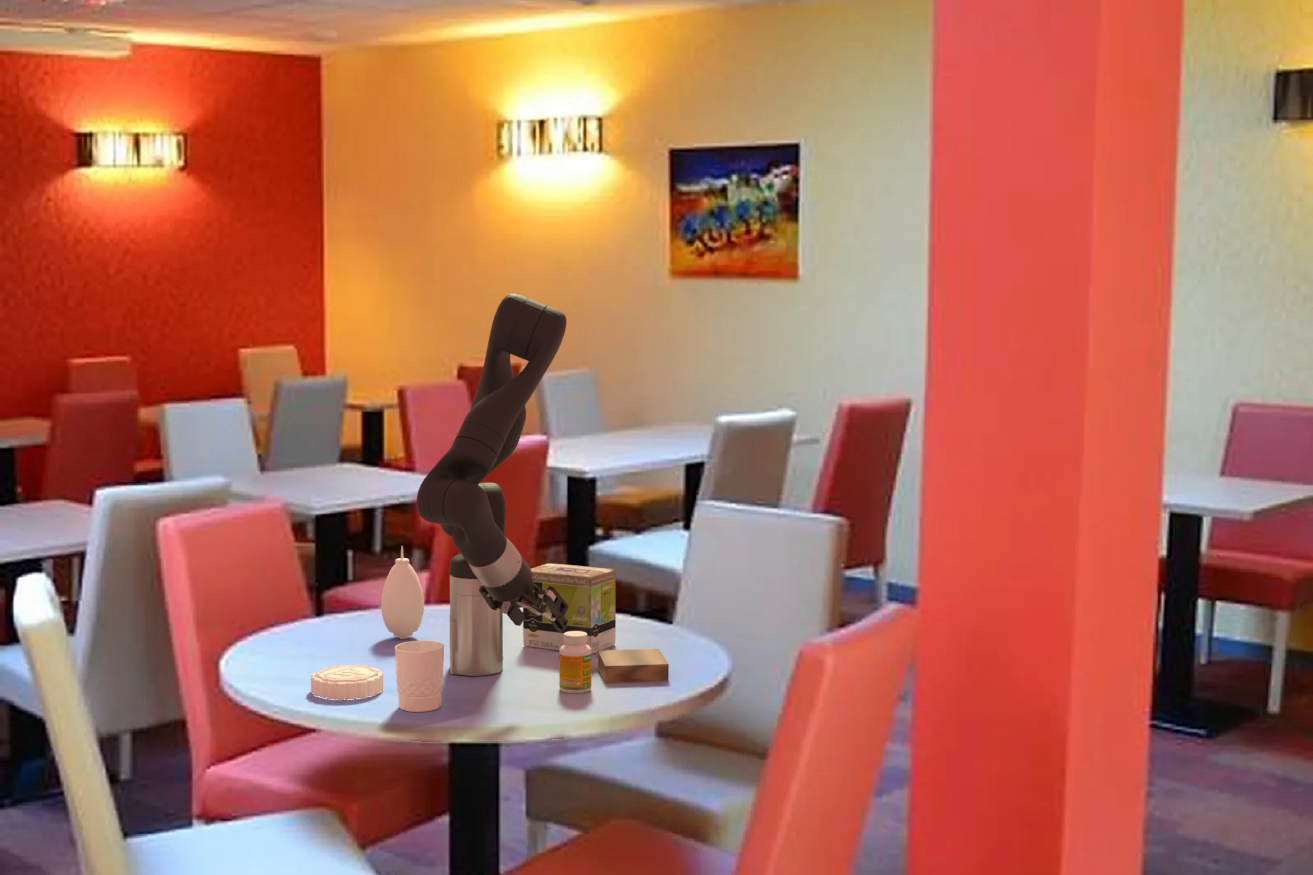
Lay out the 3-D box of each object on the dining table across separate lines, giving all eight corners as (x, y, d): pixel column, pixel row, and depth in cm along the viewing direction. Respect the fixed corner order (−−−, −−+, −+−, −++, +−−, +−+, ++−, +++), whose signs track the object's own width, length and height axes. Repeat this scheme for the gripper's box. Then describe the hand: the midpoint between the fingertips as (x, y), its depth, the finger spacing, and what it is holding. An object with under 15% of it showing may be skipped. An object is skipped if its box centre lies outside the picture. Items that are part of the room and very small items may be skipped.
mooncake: (346, 706, 257) (346, 684, 257) (295, 694, 264) (295, 673, 264) (398, 690, 267) (398, 669, 267) (348, 679, 274) (347, 659, 273)
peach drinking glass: (446, 700, 261) (446, 640, 260) (441, 713, 253) (441, 652, 252) (398, 700, 260) (398, 640, 259) (392, 713, 252) (391, 652, 251)
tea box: (617, 645, 299) (617, 568, 297) (590, 656, 290) (590, 577, 289) (549, 635, 306) (549, 560, 304) (521, 646, 297) (520, 569, 296)
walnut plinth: (605, 683, 272) (605, 666, 271) (597, 667, 282) (597, 650, 282) (668, 681, 273) (668, 664, 273) (658, 665, 284) (658, 648, 284)
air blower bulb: (374, 637, 304) (373, 544, 302) (408, 631, 309) (408, 540, 307) (396, 644, 298) (395, 550, 296) (431, 638, 303) (430, 545, 301)
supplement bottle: (587, 695, 264) (587, 638, 263) (555, 693, 265) (555, 636, 264) (594, 686, 269) (594, 630, 268) (564, 684, 271) (564, 629, 269)
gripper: (546, 551, 245) (587, 610, 256) (473, 542, 252) (516, 600, 263) (526, 591, 241) (568, 649, 252) (452, 580, 248) (497, 638, 259)
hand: (541, 624), depth 258 cm, fingers open, 8 cm apart
